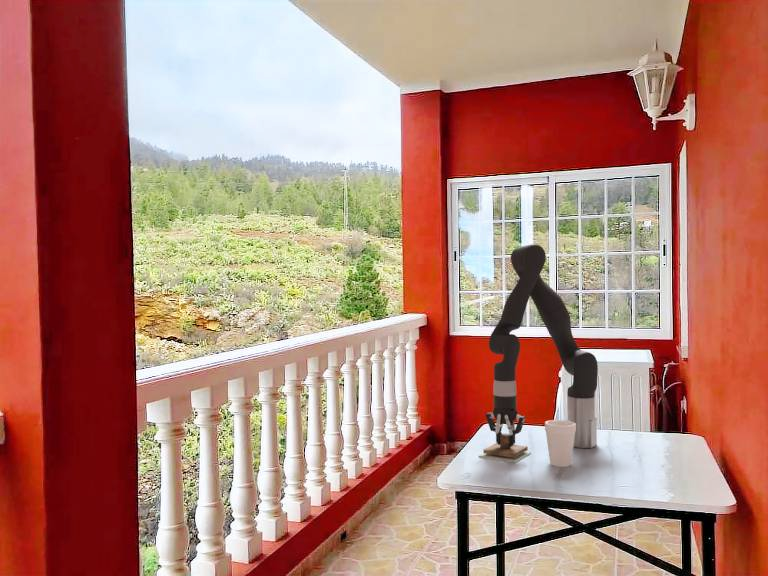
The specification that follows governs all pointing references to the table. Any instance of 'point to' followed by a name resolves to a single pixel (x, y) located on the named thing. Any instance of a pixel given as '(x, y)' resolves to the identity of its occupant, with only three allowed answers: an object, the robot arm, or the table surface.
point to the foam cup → (560, 441)
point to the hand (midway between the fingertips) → (505, 444)
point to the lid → (505, 448)
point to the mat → (504, 458)
